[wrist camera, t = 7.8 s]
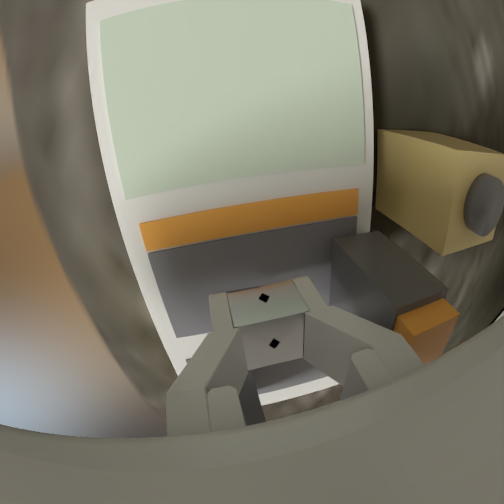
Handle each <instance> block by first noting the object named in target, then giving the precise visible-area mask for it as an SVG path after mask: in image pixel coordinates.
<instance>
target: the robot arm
mask: <svg viewBox="0 0 504 504" xmlns="http://www.w3.org/2000/svg"><path fill="white" fill-rule="evenodd" d="M226 293H227V295H226ZM209 304H210V312H211V320H212V327H213V332H212V333H208V334H207V336H206V337H205V338H204V340H203V341H202V343H201V344H200V346H199V347H198V349H197V350H196V352H195V353H194V354H193V356H192V357H191V359H190V360H189V362H188V363H187V364H186V366H185V367H184V369H183V370H182V372H181V373H180V375H179V376H178V377H177V379H176V380H175V382H174V383H173V385H172V386H171V387H170V389H169V390H168V392H167V393H166V406H167V437H156V438H155V437H154V438H92V437H91V438H90V437H76V436H66V435H57V434H49V433H42V432H36V431H29V430H24V429H19V428H14V427H10V426H5V425H1V424H0V504H504V311H503V312H502V314H501V315H500V316H499V317H498V318H497V319H496V321H495V322H494V323H493V324H491V325H490V326H488V327H487V328H485V329H484V330H482V331H481V332H479V333H478V334H476V335H475V336H473V337H472V338H470V339H468V340H467V341H465V342H464V343H462V344H460V345H459V346H457V347H455V348H453V349H452V350H450V351H448V352H447V353H445V354H443V355H441V356H439V357H438V358H436V359H434V360H432V361H430V362H428V363H426V364H424V363H423V362H422V361H421V359H420V358H419V357H418V356H417V354H416V353H415V352H414V350H413V349H412V348H411V346H410V345H409V344H408V343H407V341H406V340H405V339H404V337H403V336H402V335H401V334H399V333H397V332H394V331H392V330H389V329H387V328H385V327H382V326H380V325H377V324H375V323H373V322H370V321H368V320H366V319H363V318H361V317H359V316H356V315H354V314H352V313H349V312H347V311H345V310H342V309H340V308H338V307H335V306H329V307H328V305H327V304H326V302H325V301H324V299H323V298H322V296H321V295H320V293H319V292H318V290H317V289H316V287H315V286H314V284H313V283H312V281H311V280H310V278H309V277H308V276H306V275H304V276H300V277H296V278H292V279H290V280H286V281H281V282H276V283H272V284H267V285H262V286H256V287H250V288H244V289H239V290H233V291H227V292H222V293H216V294H211V295H209ZM303 357H304V358H303ZM299 358H303V359H305V360H306V361H308V362H309V363H310V364H312V365H313V366H315V367H316V368H317V369H319V370H320V371H322V372H323V373H325V374H326V375H327V376H329V377H330V378H332V379H333V380H335V381H336V382H338V383H339V384H340V385H342V386H343V391H342V395H341V398H340V401H337V402H334V403H331V404H328V405H325V406H322V407H319V408H316V409H313V410H309V411H306V412H302V413H299V414H295V415H292V416H288V417H284V418H280V419H276V420H272V421H268V422H263V423H259V424H254V425H249V426H247V425H246V422H245V418H244V415H243V411H242V407H241V404H240V400H239V397H238V396H239V394H240V391H241V389H242V386H243V384H244V382H245V379H246V377H247V374H248V370H253V369H257V368H261V367H265V366H269V365H272V364H276V363H281V362H286V361H290V360H294V359H299Z"/></svg>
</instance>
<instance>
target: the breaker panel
mask: <svg viewBox="0 0 504 504" xmlns="http://www.w3.org/2000/svg"><path fill="white" fill-rule="evenodd" d="M86 39H87V56H88V69H89V79H90V88H91V96H92V103H93V110H94V117H95V123H96V129H97V134H98V140H99V145H100V150H101V155H102V160H103V164H104V169H105V173H106V177H107V182H108V186H109V190H110V194H111V197H112V201H113V205H114V209H115V212H116V216H117V219H118V223H119V226H120V230H121V233H122V236H123V239H124V242H125V246H126V249H127V252H128V255H129V258H130V261H131V264H132V267H133V270H134V272H135V275H136V278H137V281H138V283H139V286H140V289H141V292H142V294H143V297H144V299H145V302H146V305H147V307H148V310H149V312H150V315H151V317H152V319H153V322H154V324H155V327H156V329H157V331H158V334H159V336H160V338H161V340H162V343H163V345H164V347H165V349H166V352H167V354H168V356H169V358H170V360H171V362H172V364H173V366H174V369H175V371H176V373H177V375H178V376H179V375H180V373H181V372H182V370H183V369H184V367H185V366H186V364H187V363H188V362H189V360H190V359H191V357H192V356H193V354H194V353H195V352H196V350H197V349H198V347H199V346H200V344H201V343H202V341H203V340H204V338H205V337H206V336H207V334H208V333H212V332H213V327H212V320H211V312H210V304H209V295H211V294H216V293H222V292H227V291H233V290H239V289H244V288H250V287H256V286H262V285H267V284H272V283H276V282H281V281H286V280H290V279H292V278H296V277H300V276H304V275H306V276H308V277H309V278H310V280H311V281H312V283H313V284H314V286H315V287H316V289H317V290H318V292H319V293H320V295H321V296H322V298H323V299H324V301H325V302H326V304H327V305H328V307H329V295H330V281H331V264H332V242H333V239H335V238H341V237H346V236H351V235H357V234H362V233H367V232H370V223H371V210H372V193H373V165H374V128H373V101H372V85H371V73H370V62H369V53H368V45H367V37H366V30H365V24H364V18H363V12H362V7H361V1H360V0H94V1H91V2H89V3H86ZM226 295H227V293H226ZM303 358H304V357H303ZM303 358H299V359H294V360H290V361H286V362H281V363H276V364H272V365H269V366H265V367H261V368H257V369H253V370H252V373H253V377H254V380H255V384H256V388H257V392H258V395H259V399H260V403H261V405H266V404H270V403H274V402H278V401H282V400H286V399H290V398H294V397H298V396H301V395H305V394H308V393H312V392H315V391H319V390H322V389H325V388H328V387H331V386H334V385H337V384H339V383H338V382H336V381H335V380H333V379H332V378H330V377H329V376H327V375H326V374H325V373H323V372H322V371H320V370H319V369H317V368H316V367H315V366H313V365H312V364H310V363H309V362H308V361H306V360H305V359H303Z"/></svg>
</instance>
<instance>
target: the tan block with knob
mask: <svg viewBox="0 0 504 504" xmlns="http://www.w3.org/2000/svg"><path fill="white" fill-rule="evenodd" d="M377 135H378V153H377V187H376V204H375V209H376V210H378V211H379V212H381V213H382V214H384V215H385V216H387V217H388V218H390V219H391V220H393V221H394V222H396V223H397V224H399V225H400V226H401V227H403V228H404V229H406V230H407V231H409V232H410V233H411V234H413V235H414V236H415V237H417V238H418V239H420V240H421V241H422V242H424V243H425V244H426V245H428V246H429V247H430V248H432V249H433V250H434V251H436V252H437V253H438V254H440V255H441V256H444V255H448V254H451V253H454V252H457V251H460V250H463V249H466V248H469V247H472V246H475V245H478V244H481V243H484V242H487V241H490V240H492V239H493V235H494V232H495V227H496V225H497V223H498V221H499V219H500V217H501V214H502V211H503V207H504V154H503V153H501V152H498V151H495V150H492V149H489V148H486V147H483V146H480V145H477V144H474V143H471V142H468V141H464V140H461V139H458V138H454V137H450V136H447V135H443V134H439V133H435V132H425V131H411V130H391V129H377Z"/></svg>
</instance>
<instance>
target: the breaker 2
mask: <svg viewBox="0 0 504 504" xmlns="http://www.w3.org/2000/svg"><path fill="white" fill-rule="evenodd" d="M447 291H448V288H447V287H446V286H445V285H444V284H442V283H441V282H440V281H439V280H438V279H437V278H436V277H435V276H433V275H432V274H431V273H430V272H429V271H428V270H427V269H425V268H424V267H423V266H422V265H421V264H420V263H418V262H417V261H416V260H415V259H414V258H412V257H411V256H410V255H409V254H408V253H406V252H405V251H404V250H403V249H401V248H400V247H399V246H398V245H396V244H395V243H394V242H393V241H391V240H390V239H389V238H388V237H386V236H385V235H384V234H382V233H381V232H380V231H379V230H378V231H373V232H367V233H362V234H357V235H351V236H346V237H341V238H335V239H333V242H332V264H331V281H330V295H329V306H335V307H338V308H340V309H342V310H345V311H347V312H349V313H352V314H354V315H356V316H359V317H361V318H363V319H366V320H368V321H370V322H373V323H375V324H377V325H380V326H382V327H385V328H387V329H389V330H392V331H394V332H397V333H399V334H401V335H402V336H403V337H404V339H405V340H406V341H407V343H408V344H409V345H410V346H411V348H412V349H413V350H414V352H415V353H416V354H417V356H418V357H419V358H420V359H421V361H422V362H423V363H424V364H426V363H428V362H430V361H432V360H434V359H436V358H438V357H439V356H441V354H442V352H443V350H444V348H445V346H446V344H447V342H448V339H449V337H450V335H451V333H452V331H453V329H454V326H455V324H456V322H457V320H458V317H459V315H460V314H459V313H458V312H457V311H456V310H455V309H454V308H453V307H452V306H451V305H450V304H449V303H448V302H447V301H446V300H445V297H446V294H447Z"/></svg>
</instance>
